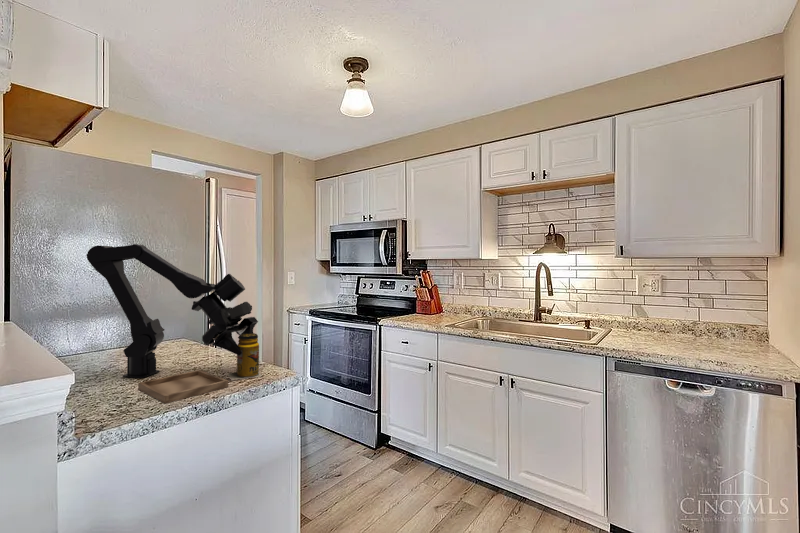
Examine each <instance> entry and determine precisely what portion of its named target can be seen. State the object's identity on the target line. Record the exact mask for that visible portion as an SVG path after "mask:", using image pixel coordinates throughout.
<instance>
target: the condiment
mask: <svg viewBox="0 0 800 533" xmlns="http://www.w3.org/2000/svg"><path fill="white" fill-rule="evenodd" d="M238 337H239V338H238V344H237V345H238V346H239V348H240V350H241V351H242V354H241V355H237V354H236V371H235V372H227V373H226V374H227V376H228V378H229V379H230V381H234V380H237V381H238V380H244V379H250V378H252V379H253V378H259V377H263V374H261V373H260V372H259V371H260V370H259V367H260V343H259V340H258V337H259V336H258V334H257V333H255V332H253V333H245V334H241V335H238Z"/></svg>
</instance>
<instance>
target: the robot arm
mask: <svg viewBox="0 0 800 533" xmlns="http://www.w3.org/2000/svg"><path fill="white" fill-rule="evenodd" d="M134 259H135V261H136V260H137V261H138V262H140V263H141V264H142V265H144V266H146V267H148V268H150V269H151V270H153V272H155V273H157V274H159V275H160V276H161V277H162V278H165V279H166V280H168V281H169V282H170V283H172V285H173V286H174V288H176V289H177V290H178V291H179V293H182V295H184V297H186V298H188V299H197V298H199V300H197V301H196V300H195V301H192V305H191V310H192V311H196V312H199V311H201V310H202V311H203V313H204V314H205V316H206V318H208V321H207V323H208V325H211V326H210V327H209V328H208V329H207V330H206V331H205V333H203V334H202V336H201V338H202V339H201V342H203V344H204V345H205V346H209V345H212V346H214V347H218V348H220V349H224V350H226V351H228V352H230V353H232V354H234V355H236V356H237V355H241V354H242V351H241V350H240V348H239V346H238V344H237V342H236V341H235V339H234V338H233V333H236V335H238V337H237V339H239V335H241V334H245V333H254V328H255V326H256V325H257V324H258V322H259V321H258V320H257V318H256V317H255V316H249V317H245V316H247V315H250V314H252V311H253V306H252V305H251V304H250V303H249V302H248V301H243V302H242V303H240V304H238V305H235V306H233V307H231V306H229V307H227V306H226V305H225V303H224V302H227V301H228V302H231V301H233V300H234V299H235V298H237V297H238V296H239V295H241V293H244V291H245V290H246V287H245V286H244V284H243V283H242V282H241V281H240V280H238V279H237V278H236V277H235V276H233V275H232V274H231V273H227V274H226V275H225V276H224V277H223V278H222V279H220V281H219V282H217V283H216V284H215V283H208V282H207V281H206V280H205V279H203V278H201V277H199V276H196V275H194V274H193V273H192V274H191V273H188V272H186V271H183V270H181V269H180V268H178V267H177V266H175V265H173V264H172V263H170V262H169V261H167V260H166V259H164V258H162V257H161V256H160V255H158V254H157V253H155V252H153V251H152V250H150V249H149V248H147V246H146V245H144V244H138V243H133V244H129V245H122V246H121V245H120V246H113V245H94V246H92V247H90V248H89V249H88V251H87V253H86V260H87V262H89V264H90V266H91V267H92V268H93V269H94V270H95V271H97V273H98V274H100V275H101V276H102V277H103V278H104V279H105V280H106V281H107V283H108V285H109V287H110V289H111V290H112V293H113V295H114V297H115V298H116V300H117V302H118V304H119V306H120V307H121V309H122V310H123V314H124V315H125V316H126V319H127V320H128V321H129V324H130V325H129V328H130V336H131V340H132V342H131V343H130V344H129V345H128V346H127V347H126V348H124V349H123V353H124V356H125V358H127V362H126V364H127V365H126V366H127V367H126V372H127V373H125V374H123V375H122V378H134V379H144V378H148V377H150V376H151V375H154V374H157V373H160V370H158V369H157V358H156V352H154V351H156V350H157V348H158V345H160V344H161V343H162V342H163V340H164V338H165V334H164V332H165V328H164V327H162V325H161V321H160V320H159V318H155V319H153V318H151V317H150V316H148V315H147V312H146V311H145V309H144V307H143V305H142V303H141V301H140V299H139V297H138V295H137V294H136V292H135V290H134V288H133V286H132V285H131V282H130V281H129V279H128V277H127V275H126V274H125V263H124V261H126V260H127V261H129V260H134ZM209 293H210V294H209ZM205 294H208V295H205ZM202 296H203V297H202ZM200 297H201V298H200ZM242 317H244V318H242Z"/></svg>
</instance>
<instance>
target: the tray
mask: <svg viewBox="0 0 800 533" xmlns="http://www.w3.org/2000/svg"><path fill="white" fill-rule="evenodd" d="M228 387H229V380H228V379H225V378H224V377H223V378H222V377H219V376H217V375H214V374H212V373H210V372H209V373H208V372H206V371H203V370H200V369H197V370H193V371H187V372H183V373H179V374H173V375H170V376H164V377H159V378H154V379H151V380H146V381H141V382H138V387H137V388H138V391H141V392H143V393H144V394H146V395H148V396H150V397H151V398H154V399H155V398H156V400H157V399H158V401H160V402H161V403H163V404H169V403H172V402H176V401H181V400H184V399H187V398H192V397H195V396H199V395H203V394H207V393H212V392H214V391H219V390H222V389H225V388H226V389H227V388H228Z"/></svg>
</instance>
